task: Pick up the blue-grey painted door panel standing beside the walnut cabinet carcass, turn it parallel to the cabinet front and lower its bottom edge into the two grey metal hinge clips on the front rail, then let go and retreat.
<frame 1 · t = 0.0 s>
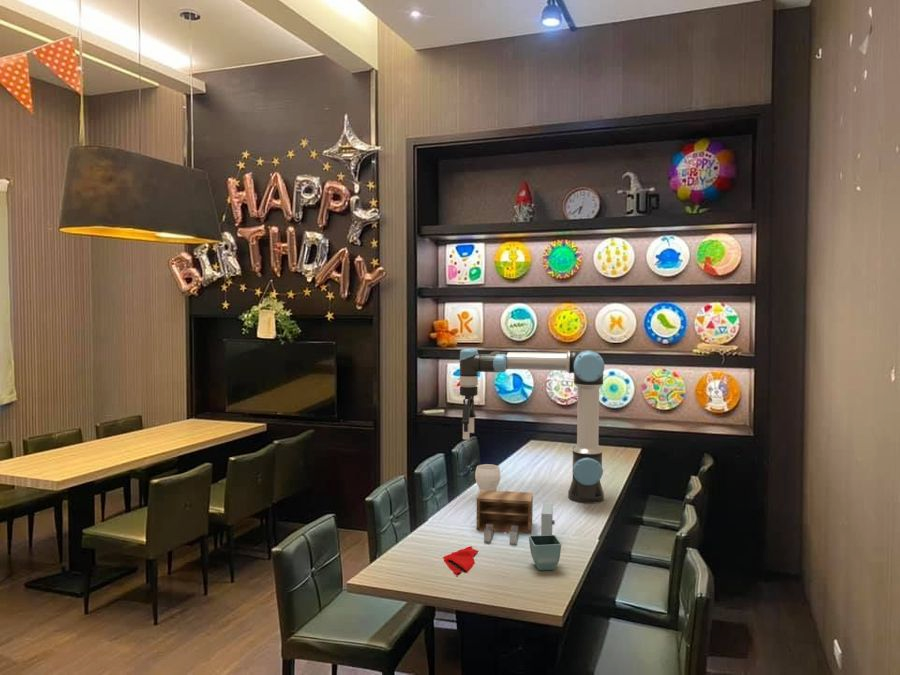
hand: (468, 435, 277), 28 cm above the table, fingers open, 13 cm apart
hinge clips: (503, 531, 242), on the table
cloth: (461, 562, 216), on the table
door: (546, 541, 233), on the table
cabinet: (504, 526, 247), on the table
flower pot: (544, 567, 210), on the table
cup: (487, 502, 277), on the table
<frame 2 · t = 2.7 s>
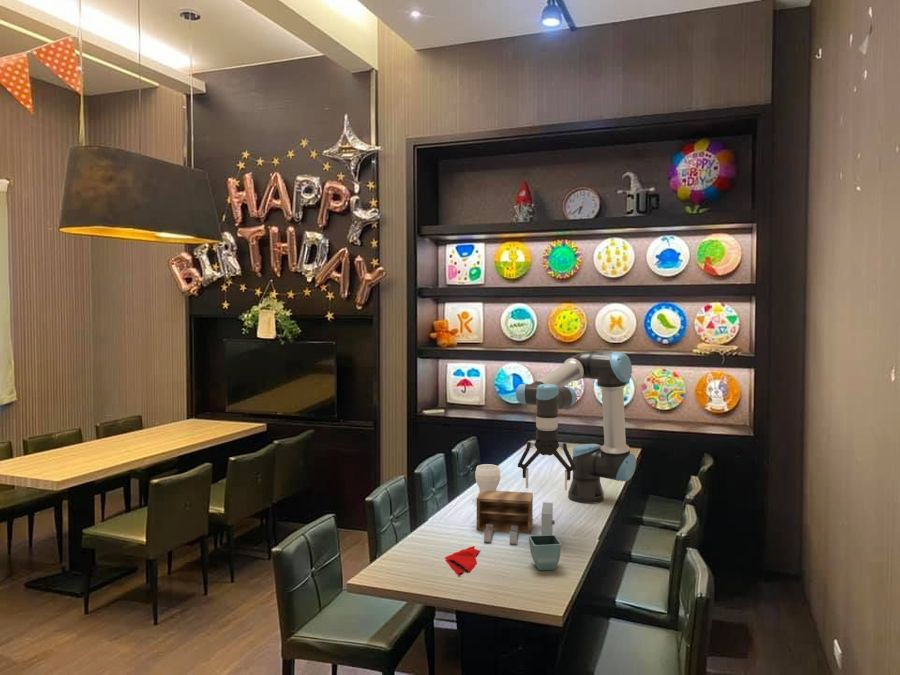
hand: (546, 488, 232), 19 cm above the table, fingers open, 13 cm apart
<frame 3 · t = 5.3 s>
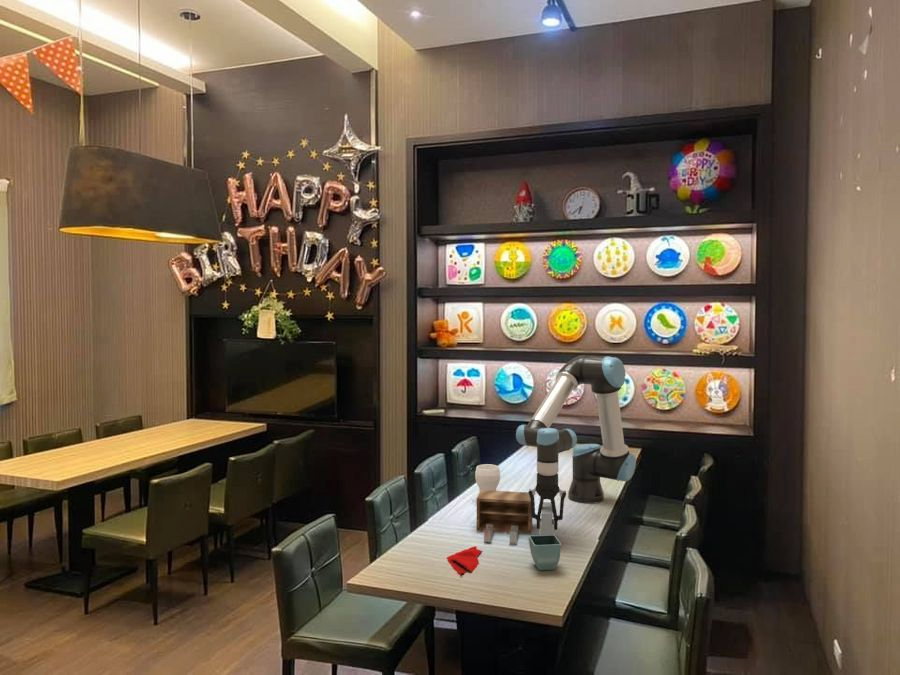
hand: (546, 537, 232), 1 cm above the table, fingers closed on door, 3 cm apart
door: (546, 541, 232), on the table, touching gripper
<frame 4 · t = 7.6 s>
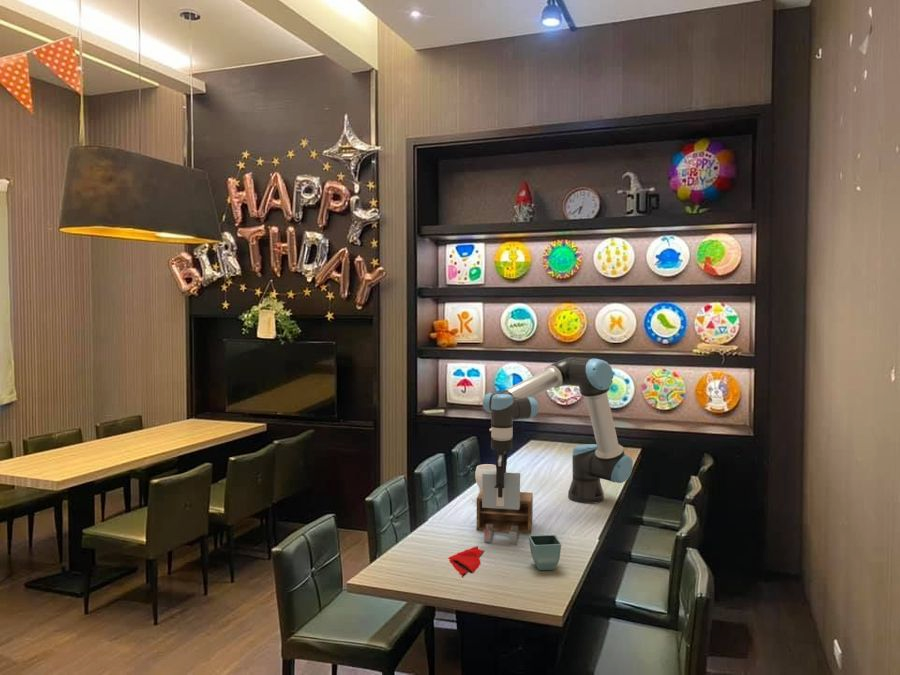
hand: (500, 503, 232), 13 cm above the table, fingers closed on door, 3 cm apart
door: (501, 507, 232), point 12 cm above the table, touching gripper
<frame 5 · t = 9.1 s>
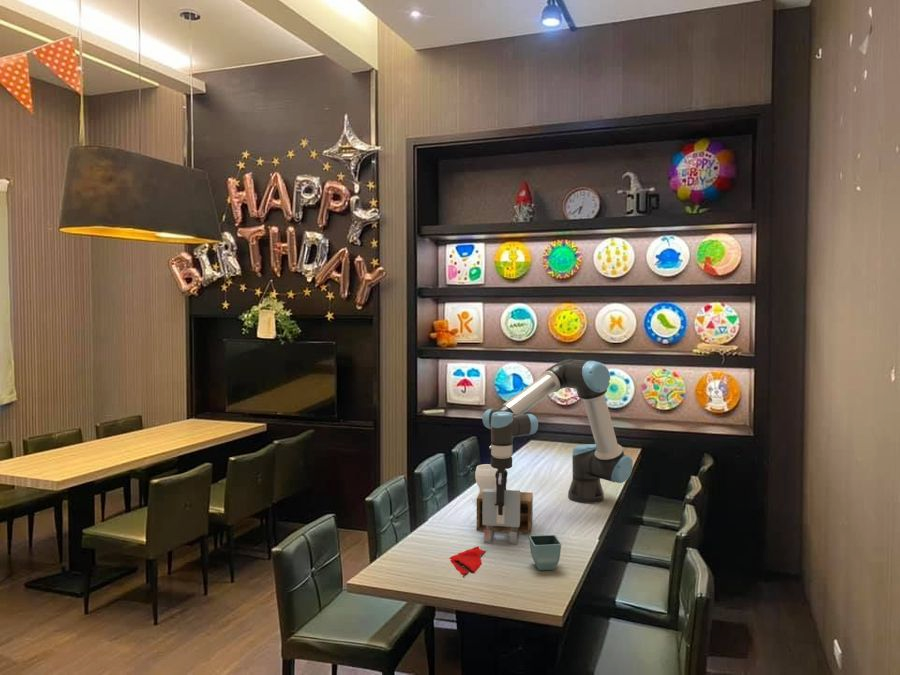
hand: (501, 521, 233), 7 cm above the table, fingers closed on door, 3 cm apart
door: (501, 524, 233), point 6 cm above the table, touching gripper
when the fingers open (3 cm above the table, at t = 10.2 s): door stays where it is, resting on hinge clips.
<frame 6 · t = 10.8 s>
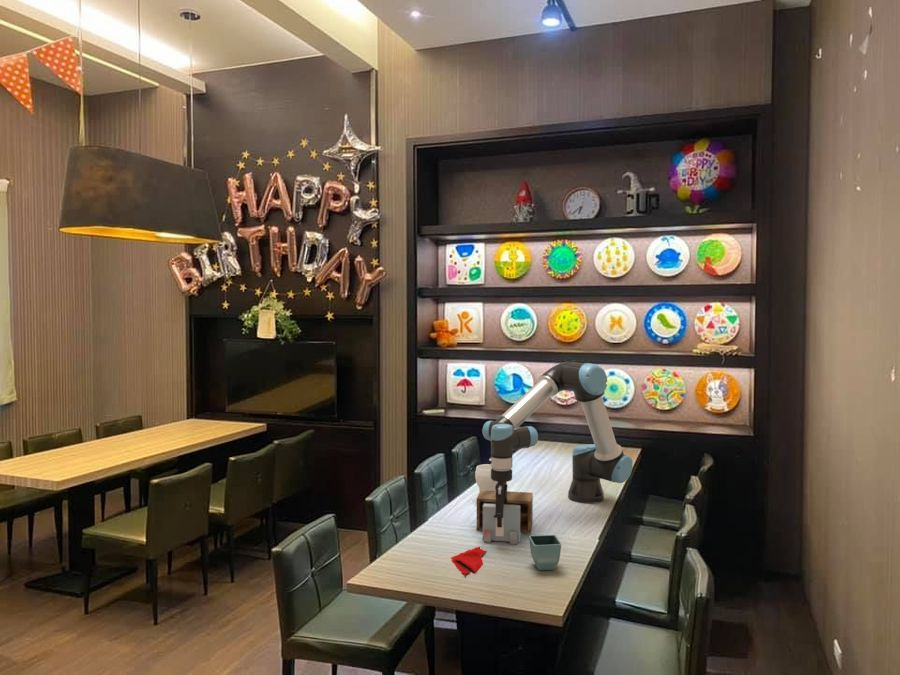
hand: (501, 530, 233), 4 cm above the table, fingers open, 11 cm apart
door: (501, 539, 233), resting on hinge clips
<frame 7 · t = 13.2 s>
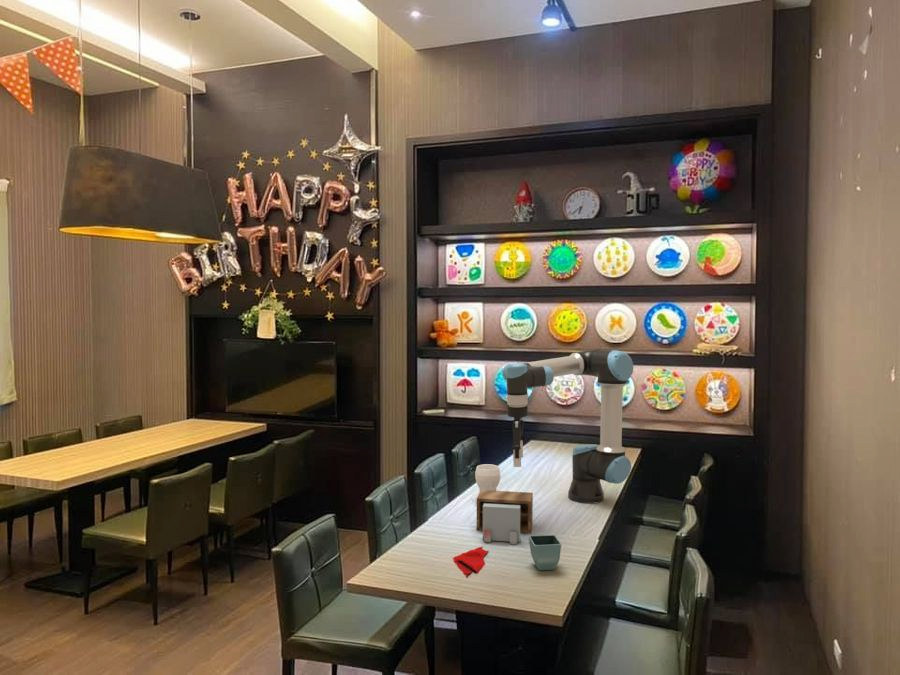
hand: (518, 461, 245), 25 cm above the table, fingers open, 13 cm apart
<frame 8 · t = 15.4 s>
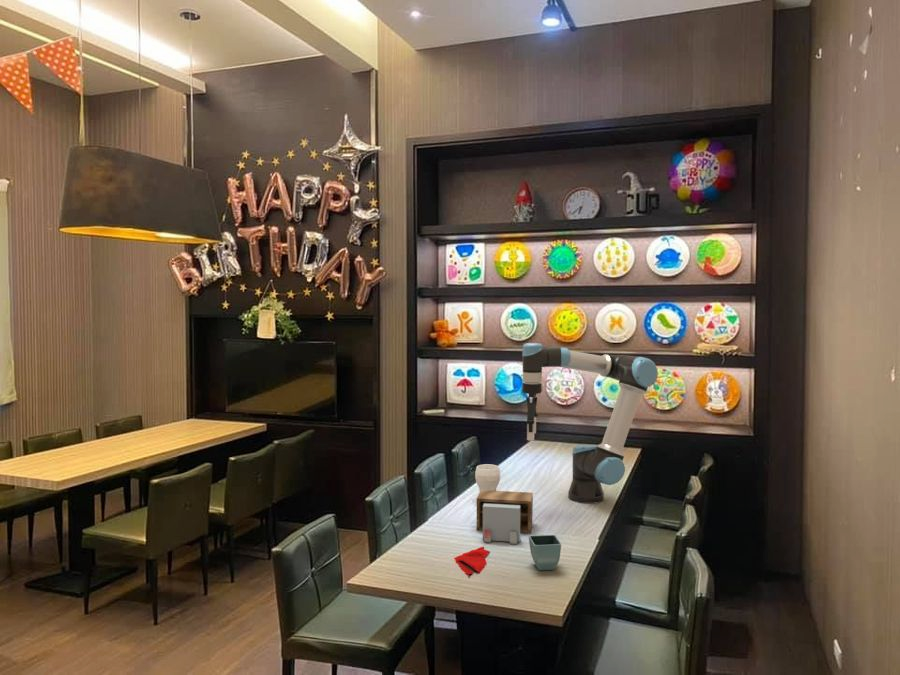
hand: (531, 436, 257), 32 cm above the table, fingers open, 13 cm apart
at the end: door 0.1 cm from the target spot on the hinge clips, point 0.4 cm above the hinge clips's base; door tilted 0°; the gripper is holding nothing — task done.
